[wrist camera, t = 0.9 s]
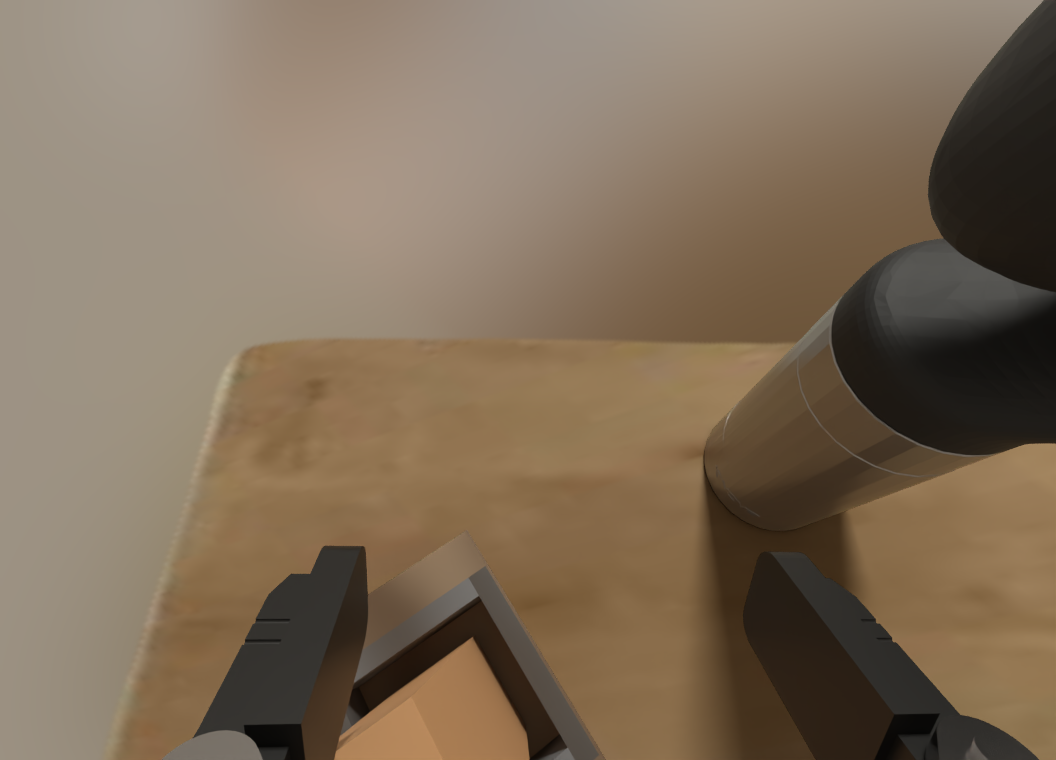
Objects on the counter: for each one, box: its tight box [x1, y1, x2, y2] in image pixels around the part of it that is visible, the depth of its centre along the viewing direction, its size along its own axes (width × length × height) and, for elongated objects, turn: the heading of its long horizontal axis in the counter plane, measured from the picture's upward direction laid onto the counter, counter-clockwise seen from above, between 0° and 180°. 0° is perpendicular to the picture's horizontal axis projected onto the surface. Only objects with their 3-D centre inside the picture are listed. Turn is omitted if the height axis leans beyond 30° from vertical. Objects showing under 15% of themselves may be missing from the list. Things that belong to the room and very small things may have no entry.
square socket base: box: [340, 530, 606, 760], centre depth 26 cm, size 8×12×15 cm, turn 34°
